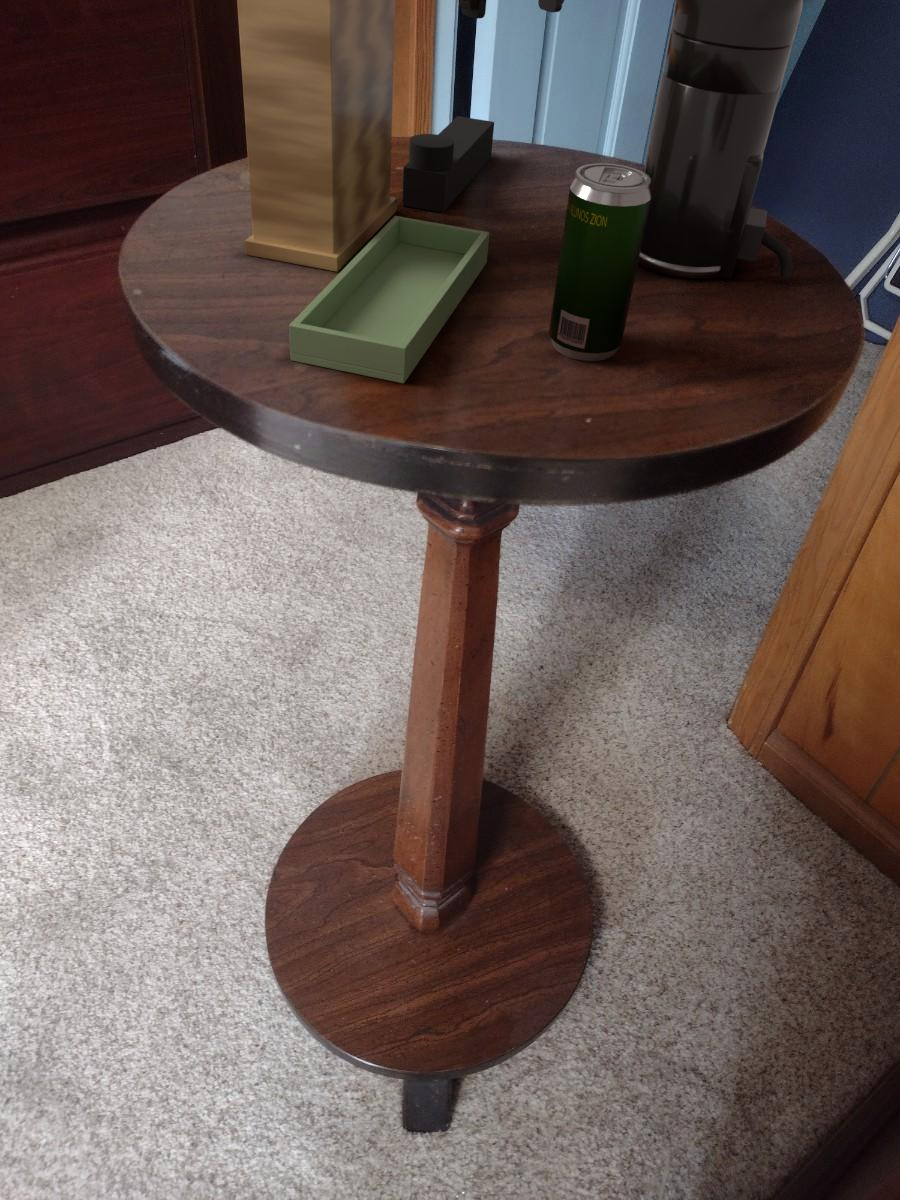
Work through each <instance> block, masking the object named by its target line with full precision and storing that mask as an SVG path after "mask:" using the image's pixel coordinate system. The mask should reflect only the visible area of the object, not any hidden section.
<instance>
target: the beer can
mask: <svg viewBox="0 0 900 1200" xmlns="http://www.w3.org/2000/svg"><path fill="white" fill-rule="evenodd" d="M574 176H575V178H574V180H573V181H572V183H571V184H570V187H569V192H568V198H567V206H566V211H565V212H566V213H565V219H564V225H563V232H562V239H561V246H560V253H559V260H558V265H557V266H558V267H557V272H556V273H557V275H556V280H555V286H554V287H555V288H554V294H553V302H552V306H551V307H552V308H551V315H550V321H549V328H548V334H549V337H550V341H551V344H552V347H553V349H555V351H556V352H558V353H559V354H561V355H563V356H564V357H567V358H571V359H573V360H577V361H583V362H598V361H604V360H608V359H610V358H612V357H613V356H614V355H615V354H616V353H617V352H618V350H619V349H620V348H621V346H622V343H623V340H624V334H625V329H626V324H627V319H628V314H629V310H630V309H629V308H630V305H631V304H630V303H631V299H632V295H633V290H634V285H635V280H636V274H637V270H638V265H639V263H638V260H639V255H640V250H641V245H642V240H643V235H644V230H645V226H646V221H647V216H648V211H649V206H650V201H651V192H650V188H649V186H650V183H651V179H650V177H649V176H648V175H647V174H645V173H644V172H643V170H639V169H637V168H634V167H630V166H627V165H622V164H616V163H602V162H601V163H599V162H598V163H590V164H584V165H581V166H579V167H577V169H576V170H575V175H574Z"/></svg>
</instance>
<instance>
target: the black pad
mask: <svg viewBox="0 0 900 1200" xmlns="http://www.w3.org/2000/svg"><path fill="white" fill-rule="evenodd" d="M494 131H495V121H493V120H485V119H478V118H473V117H467V116H466V117H465V116H459V115H457V116H456V117H455V118H454V119H453V120H452V121H451V122H449V124H448V125H447V126H445V128H443V129H442V130H441V131H440V132H439V133H438V134H437V133H436V134H435V133H421V134H416V135H415V134H414V135H413V136H411V137H410V138H409V151H408V152H409V154H408V157H409V158H408V162H407V163H406V164H405V165H403V170H402V171H403V174H402V177H403V178H402V201H401V202H402V204H401V205H402V206H403V207H407V208H413V209H419V210H425V211H430V212H436V213H444V212H446V210H447V209H448V208H449V207H450V206H451V204H452V203H453V202H454V201H455V199H456V198H458V196H459V195H460V194H461V193H462V191H463V190H464V189H465V188H466V187H467V186H468V184H470V182H471V181H472V180H473V179H474V178H475V177H476V175H477V174H478V173H479V172H480V171H481V169H482V168H483V167H484V166H485V165H486V164H487V162H488V161H489V160H490V159H491V158H492V153H493V152H492V151H493V142H494Z"/></svg>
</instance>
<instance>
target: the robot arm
mask: <svg viewBox="0 0 900 1200" xmlns="http://www.w3.org/2000/svg"><path fill="white" fill-rule="evenodd" d="M564 3H565V0H538V8H539V9H540V10H542V11H545V12H548V13H559V12H561V11H562V8H563V4H564ZM803 5H804V0H674V5H673V6H674V7H673V13H672V19H671V24H670V26H671V28H670V29H669V35H668V40H667V45H666V49H665V55H664V61H663V66H662V72H661V76H660V80H659V86H658V91H657V96H656V101H655V106H654V107H655V108H654V112H653V118H652V123H651V127H650V128H651V129H650V133H649V138H648V144H647V148H646V154H645V159H644V164H643V165H644V166H643V170H642V172H644V173H645V174H647V175H648V176H649V177H650V179H651V183H650V186H649V188H650V192H651V201H650V206H649V211H648V216H647V221H646V226H645V230H644V235H643V240H642V245H641V250H640V255H639V260H638V265H640V266H642V267H644V268H646V269H649V270H651V271H654V272H657V273H660V274H663V275H667V276H673V277H678V278H684V279H685V278H686V279H713V278H720V279H721V278H722V279H727V280H731V279H732V278H733V274H734V271H735V267H736V263H737V260H744V261H750V262H757V259H758V255H759V253H760V250H761V245H763V246H764V247H765V248H767V249H769V250H770V251H771V252H773V253H774V254H775V255H776V256H777V258H778V259H779V263H780V277H781V278H785V277H789V276H792V275H793V257H792V254H791V252H790V251H789V249H788V248H787V247H786V245H785V244H784V243H783V242H781V241H780V240H779V239H777V238H776V237H774V236H773V235H771V234H770V233H769V232H767V231H766V226H767V218H768V210H765V209H760V208H753V207H752V203H753V200H754V197H755V193H756V188H757V185H758V181H759V177H760V173H761V169H762V166H763V160H764V155H765V154H764V153H765V149H766V147H767V142H768V138H769V134H770V131H771V127H772V123H773V119H774V115H775V113H776V108H777V105H778V101H779V97H780V94H781V90H782V87H783V82H784V78H785V74H786V71H787V66H788V63H789V59H790V56H791V52H792V48H793V43H794V41H795V38H796V34H797V31H798V27H799V23H800V20H801V16H802V12H803ZM458 6H459V8H461V9H460V10H461V13H462V14H463V16H466V17H469V18H471V19H474V20H478V19H483V18H485V16H486V11H487V10H486V9H487V0H458Z"/></svg>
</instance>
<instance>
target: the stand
mask: <svg viewBox="0 0 900 1200" xmlns="http://www.w3.org/2000/svg"><path fill="white" fill-rule="evenodd" d="M236 2H237V3H236V5H237V19H238V31H239V46H240V47H239V48H240V63H241V64H240V65H241V76H242V78H241V80H242V93H243V106H244V107H243V109H244V123H245V136H246V137H245V138H246V150H247V167H248V181H249V184H248V185H249V196H250V197H249V198H250V212H251V227H252V228H251V229H252V234H251V235H250V236H249V237H247V238H246V239H244V248H245V255H246V256H251V257H256V258H262V259H266V260H272V261H278V262H283V263H288V264H294V265H299V266H304V267H310V268H315V269H321V270H324V271H325V270H326V271H331V272H336V273H338V272H339V271H340V270H341V269H342V268H343V267H344V266H345V265H346V264H347V263H348V262H349V261H350V259H351V258H353V256H354V255H355V254H357V252H358V251H359V250H360V249H361V248H362V247H363V246H364V245H365V244H367V242H368V241H370V239H371V238H373V237H374V236H375V234H376V233H377V232H378V231H379V230H381V229H380V228H382V227H383V226H384V224H385V223H387V221H389V219H390V218H391V217H392V216H394V215H395V213H397V211H398V210H397V209H398V208H397V207H398V198H397V197H393V196H391V177H392V176H391V171H392V138H393V137H392V136H393V133H392V132H393V128H392V127H393V101H394V97H393V94H394V65H395V62H394V60H395V27H396V26H395V25H396V24H395V23H396V0H236Z"/></svg>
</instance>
